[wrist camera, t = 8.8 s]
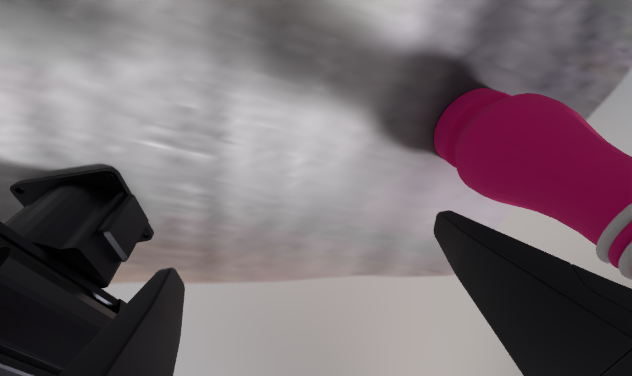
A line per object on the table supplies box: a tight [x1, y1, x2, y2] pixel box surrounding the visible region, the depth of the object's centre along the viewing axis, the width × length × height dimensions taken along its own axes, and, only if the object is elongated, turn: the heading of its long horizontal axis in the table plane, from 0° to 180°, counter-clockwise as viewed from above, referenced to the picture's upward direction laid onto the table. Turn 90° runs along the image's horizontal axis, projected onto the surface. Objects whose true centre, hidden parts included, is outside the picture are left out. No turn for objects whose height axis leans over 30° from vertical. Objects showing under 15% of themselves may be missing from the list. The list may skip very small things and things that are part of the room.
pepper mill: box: [434, 88, 632, 280], centre depth 13 cm, size 7×7×20 cm
